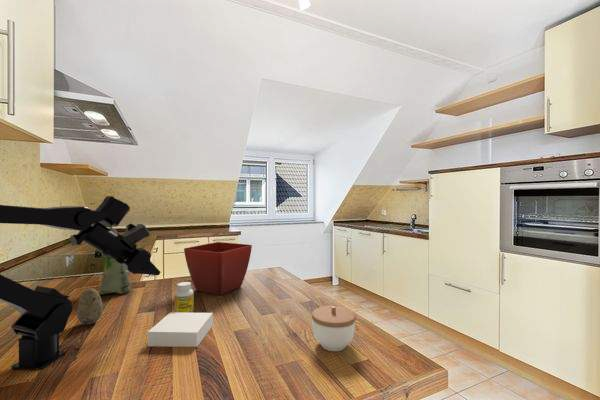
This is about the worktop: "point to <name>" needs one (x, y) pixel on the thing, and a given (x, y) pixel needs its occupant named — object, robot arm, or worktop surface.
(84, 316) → the decorative egg
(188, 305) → the supplement bottle
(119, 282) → the pouch
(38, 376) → the worktop surface
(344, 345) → the lidded jar
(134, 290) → the worktop surface
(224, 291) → the plant pot
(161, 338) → the podium
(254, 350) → the worktop surface
